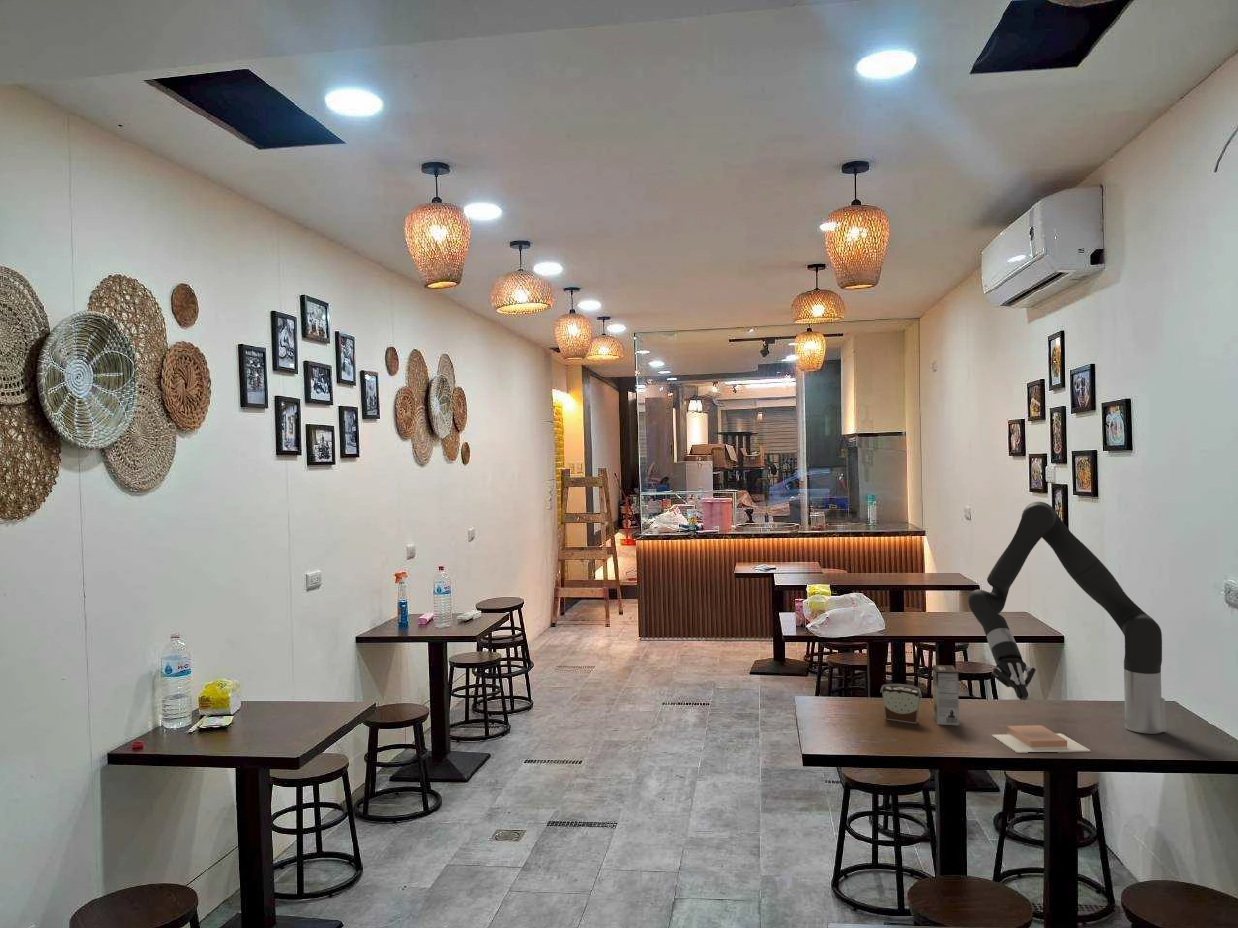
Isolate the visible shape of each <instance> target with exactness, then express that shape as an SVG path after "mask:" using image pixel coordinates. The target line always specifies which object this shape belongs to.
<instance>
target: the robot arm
mask: <svg viewBox="0 0 1238 928" xmlns="http://www.w3.org/2000/svg"><path fill="white" fill-rule="evenodd" d="M1041 539H1042V540H1044V542H1046V543H1047V544H1048V546H1049V547H1050V548H1051V549H1052V550H1053V552H1054V554H1055V555H1056V557H1057V558H1058V560H1059V561H1060V563H1061V565H1062V566H1063V568H1064V569H1065V571H1066V572H1067V574H1069V576H1070V578H1071V579H1073V581H1074V582H1075V583H1076V584H1077V585H1078V587H1080V588H1081V589H1082V590H1083V591H1084V593H1085V594H1087V595H1088V596H1089V597H1090V598H1091V599H1092V600H1093V601H1095V602H1096V603H1097V604H1098V605H1100V607H1102V609H1104V611H1106V613H1108V614H1109V616H1110V617H1111V618H1112V620H1114V622H1115V623H1116V625H1117V627H1118V628H1119V629H1120V631H1121V632H1122V634H1123V636H1124V658H1123V679H1124V680H1123V689H1124V695H1123V696H1124V726H1125V727H1124V728H1125V729H1126V730H1129V731H1132V732H1135V733H1140V734H1150V735H1153V734H1154V735H1155V734H1156V735H1157V734H1161V733H1166V699H1165V698H1164V697H1162V662H1163V635H1162V630H1161V629H1162V628H1161V627H1160V625H1159V623H1157V622H1156V620H1155V619H1154V618H1153V617H1151V616H1150V615H1148V614H1147V613H1146V612H1145V611H1144V610H1142V608H1140V607H1139V606H1138V605H1137V604H1136V603H1135V602H1134V601H1133V600H1132V599H1131V598H1130V597H1129V596H1128V595H1127V594H1126V592H1125V591H1124V589H1123V588H1122V586H1121V585H1120V583H1119V582H1118V581H1117V579H1116V578H1115V576H1114V575H1113V574H1112V572H1111V571H1110V570H1109V569H1108V567H1106V565H1105V564H1104V563H1103V562H1102V561H1101V560H1100V559H1099V558H1098V557H1097V556H1096V555H1095V554H1094V552H1092V551H1091V549H1089V548H1088V546H1086V545H1085V544H1084V543H1083V542H1082V541H1081V540H1080V539H1078V538H1077V537H1076V536H1075V535H1074V534H1073V533H1072V532H1071V530H1070V529H1069V528H1068V527H1067V526H1066V524H1065V523H1064V522H1063V520H1062V519H1061V517H1060V516H1059V515H1058V513H1057V512H1056V510H1055V509H1054V508H1053V506H1052V505H1050V504H1049V503H1047V502H1043V501H1033V502H1031V503H1029V504H1027V506H1026V507H1025V508H1024V509H1023V511H1022V513H1021V518H1020V521H1019V523H1018V526H1017V529H1016V532H1015V533H1014V536H1012V539H1011V541H1010V542H1009V544H1008V545H1007V547H1006V548H1005V550H1004V551H1003V552H1002V553H1001V555H1000V557H998V560H997V561H996V563H995V564H994V566H993V567H992V569H991V571H990V572H989V573H988V575H987V578H986V582H987V584H989V586H990V587H991V588H992V589H991V592H989V591H986V590H983V589H974V590H972V591H971V593H970V594H969V596H968V606H969V609H970V610H971V612H972V614H973V616H974V617H975V619H976V620H977V621H978V623H979V624H980V625H981V626H982V630H983V632H984V633H985V636H986V640H987V643H988V647H989V650H990V652H991V655H992V656H993V659H994V662H995V665H996V666H995V667H994V669H993V670H992V672H991V676H992V677H994V678H995V679H996V680H997V681H999V682H1000V683H1001V684H1002V685H1004V686H1005V687H1007V688H1012V689H1013V690H1014V692H1015V695H1016V697H1017V698H1018V699H1019V701H1026V700H1027V698H1028V697H1029V692H1028V690H1027V687H1028V686H1029V685H1030V683H1031V681H1032V679H1033V678H1034V675H1035V674H1036V673H1035V672H1036V671H1037V669H1036V668H1035V667H1031V668H1030V667H1029V666H1027V664H1026V662H1025V661H1024V660H1023V657H1022V653H1021V651H1020V649H1019V646H1018V645H1017V642H1016V640H1015V638H1014V635H1013V634H1012V632H1011V629H1010V628H1009V625H1008V622H1007V620H1006V618H1004V616H1002V615H1001V612H1003V610H1004V608H1005V605H1006V602H1007V600H1008V599H1007V598H1008V595H1009V591H1010V587H1011V586H1012V585H1013V583H1014V581H1015V580H1016V578H1017V577H1018V576H1019V573H1020V572H1021V570H1022V569H1023V566H1024V564H1025V562H1026V561H1027V559H1028V557H1029V555H1030V554H1031V552H1032V550H1033V549H1034V547H1035V546H1036V545H1037V544H1038V542H1039V541H1040V540H1041ZM1024 673H1025V675H1024ZM1024 676H1026V677H1025V678H1024Z"/></svg>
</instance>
